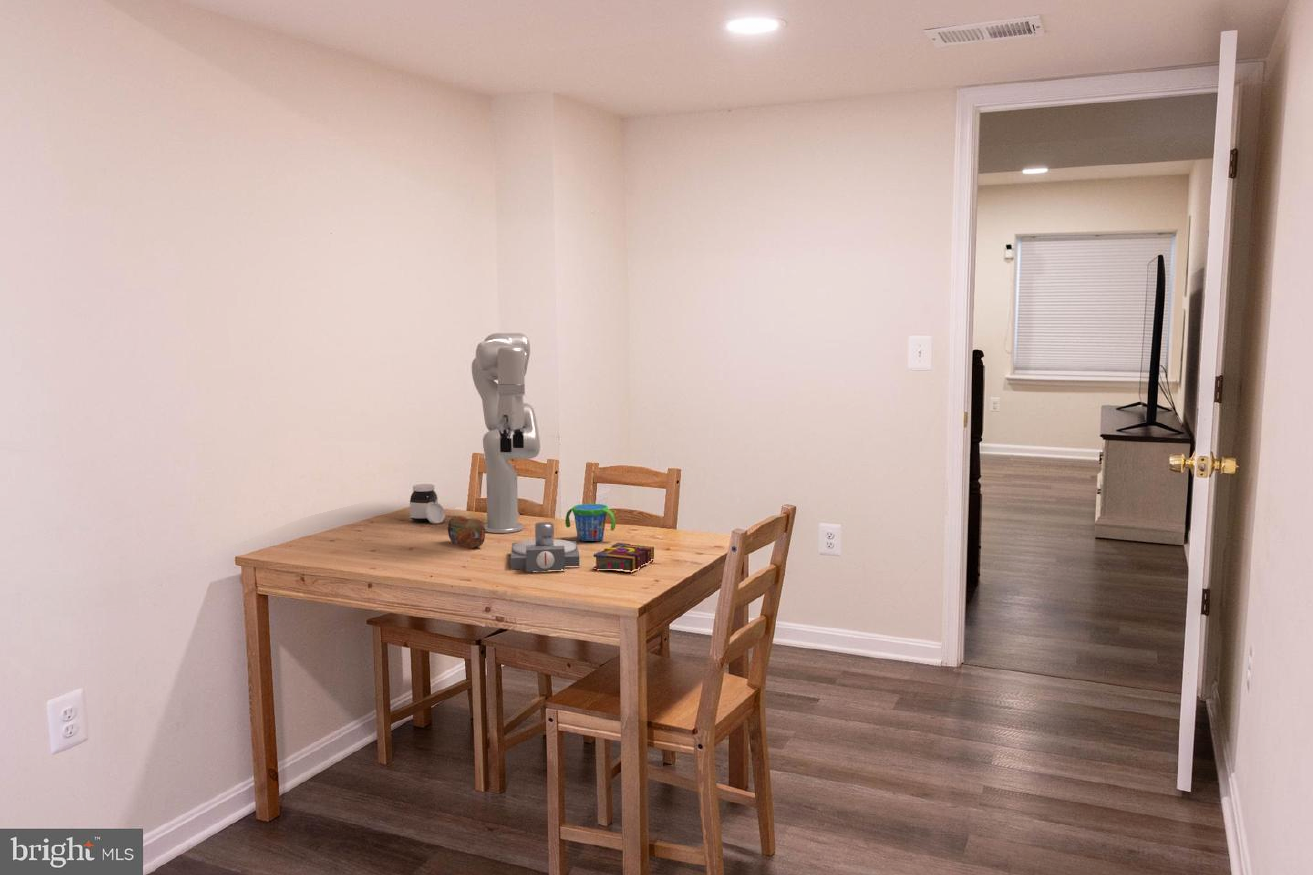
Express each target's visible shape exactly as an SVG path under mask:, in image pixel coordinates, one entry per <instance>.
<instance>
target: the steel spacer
mask: <svg viewBox="0 0 1313 875" xmlns="http://www.w3.org/2000/svg"><path fill="white" fill-rule="evenodd" d="M554 526H555V524H554V523H553V522H550V521H549V522H548V521H546V522H545V521H544V522H543V521H540V522H536V523H535V524H534V530H535V532H534V533H535V534H534V535H535V538H534V540H535V546H554V539H555V534H554V532H555V531H554V529H555V527H554Z"/></svg>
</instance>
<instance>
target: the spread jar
mask: <svg viewBox="0 0 1313 875" xmlns="http://www.w3.org/2000/svg"><path fill="white" fill-rule="evenodd" d="M438 498H439V497H438V494H437V492H436V491H435V485H434V484H431V483H428V484H427V483H421V484H419V483H418V484H414V485H412V493H411V495H410V499H409V515H410V519H411V521H412V522H414V523H417V524H427V523H431V524H434V525H437V524H440V523H442V522H443V521H444V520H445V516H446V515H445V514H446V513H445V509H444V507H443V506H442V505H441V504H440V503H439V502H438V501H439V500H438Z"/></svg>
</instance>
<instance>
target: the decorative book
mask: <svg viewBox="0 0 1313 875" xmlns="http://www.w3.org/2000/svg"><path fill="white" fill-rule="evenodd" d="M593 558H595V566H593V569H594V568H596V569H623V570H630V571H632V570H634V569H638V568H639V567H641V565H643V564H645V563H648V562H649V561H651V559H654V560H655V547H654V546H647V545H646V546H645V545H639V544H637V545H635V544H631V543H625V542H617V543H616V542H615V543H614V544H612V545H611V546H610V547H608V546H606V547H604V550H602V551H598V552H595V553H594V554H593Z"/></svg>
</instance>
